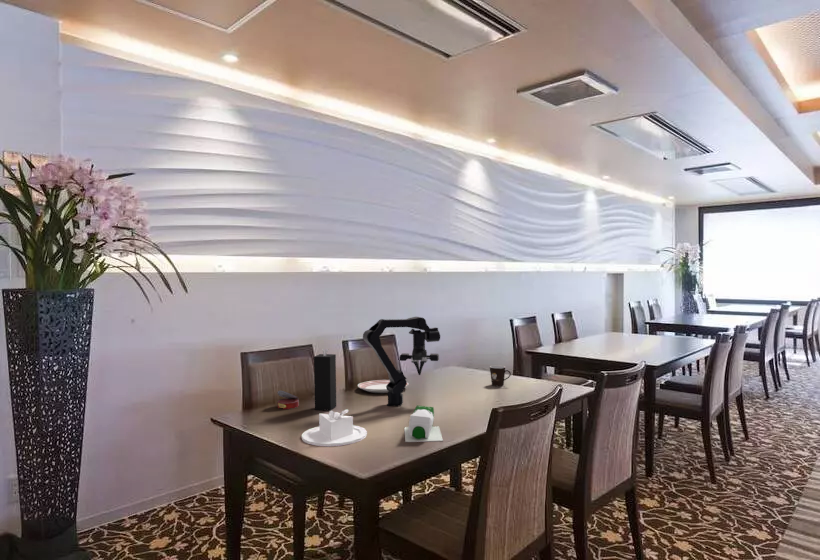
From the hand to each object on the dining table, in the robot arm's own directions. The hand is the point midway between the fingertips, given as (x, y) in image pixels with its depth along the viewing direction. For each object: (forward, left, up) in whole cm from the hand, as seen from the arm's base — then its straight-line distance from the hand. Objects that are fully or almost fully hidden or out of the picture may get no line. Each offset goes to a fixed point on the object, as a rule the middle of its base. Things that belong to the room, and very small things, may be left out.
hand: (419, 374), depth 259 cm
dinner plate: (-23, +25, -14) cm, 37 cm away
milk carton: (+7, -40, -9) cm, 41 cm away
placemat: (+8, -52, -13) cm, 54 cm away
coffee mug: (+39, +40, -13) cm, 57 cm away
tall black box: (-42, -17, -13) cm, 47 cm away
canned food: (-61, -15, -13) cm, 64 cm away
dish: (-26, -57, -14) cm, 64 cm away
